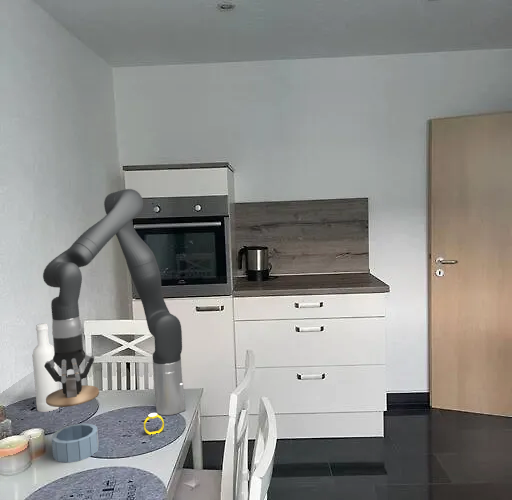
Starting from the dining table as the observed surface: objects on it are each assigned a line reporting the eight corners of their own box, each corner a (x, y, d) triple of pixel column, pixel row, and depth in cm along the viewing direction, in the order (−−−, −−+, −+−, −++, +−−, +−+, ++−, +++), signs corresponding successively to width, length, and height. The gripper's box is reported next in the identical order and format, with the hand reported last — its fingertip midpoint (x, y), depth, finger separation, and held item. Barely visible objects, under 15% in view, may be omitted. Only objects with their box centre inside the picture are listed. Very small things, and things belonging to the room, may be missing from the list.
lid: (100, 385, 147) (98, 366, 147) (97, 402, 134) (96, 381, 133) (49, 392, 144) (48, 372, 143) (42, 410, 130) (40, 389, 130)
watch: (145, 437, 147) (142, 418, 147) (144, 434, 150) (141, 415, 149) (165, 432, 149) (162, 414, 148) (164, 429, 152) (161, 410, 151)
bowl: (99, 438, 148) (98, 421, 147) (97, 457, 136) (95, 438, 135) (57, 445, 145) (55, 427, 144) (50, 465, 133) (48, 445, 133)
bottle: (58, 411, 171) (50, 325, 168) (34, 413, 169) (26, 328, 167) (63, 402, 178) (56, 320, 176) (40, 404, 177) (33, 322, 175)
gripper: (94, 327, 143) (99, 386, 144) (42, 333, 139) (48, 392, 140) (92, 333, 135) (97, 395, 137) (38, 339, 132) (44, 402, 133)
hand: (72, 393), depth 139 cm, fingers closed on lid
